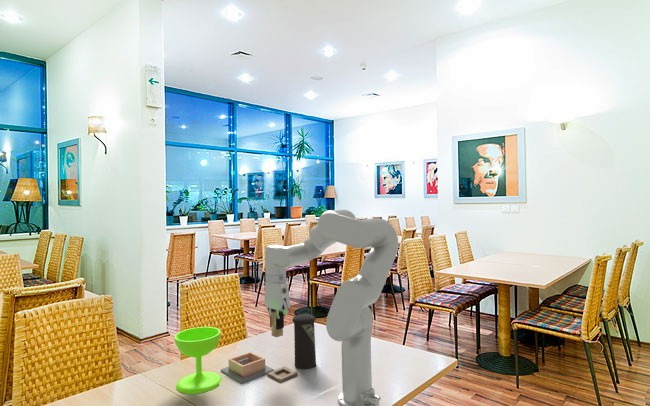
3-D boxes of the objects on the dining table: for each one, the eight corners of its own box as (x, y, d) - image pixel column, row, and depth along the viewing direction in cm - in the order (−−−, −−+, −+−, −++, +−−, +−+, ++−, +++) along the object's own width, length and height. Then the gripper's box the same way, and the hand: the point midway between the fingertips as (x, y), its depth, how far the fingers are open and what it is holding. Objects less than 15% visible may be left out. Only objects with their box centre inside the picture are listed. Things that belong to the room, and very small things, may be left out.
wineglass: (175, 378, 151) (174, 330, 151) (219, 370, 156) (218, 324, 156) (176, 397, 136) (174, 344, 136) (224, 388, 141) (223, 337, 141)
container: (313, 371, 153) (312, 319, 153) (291, 370, 155) (289, 318, 155) (318, 362, 162) (317, 312, 162) (297, 361, 164) (295, 312, 163)
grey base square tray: (273, 372, 153) (273, 358, 153) (241, 384, 144) (241, 370, 144) (251, 361, 164) (251, 348, 164) (220, 372, 155) (220, 358, 155)
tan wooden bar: (282, 335, 150) (282, 311, 150) (276, 337, 148) (275, 313, 148) (278, 333, 152) (277, 309, 152) (271, 335, 150) (270, 311, 150)
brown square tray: (297, 376, 149) (297, 372, 149) (280, 383, 144) (280, 379, 144) (284, 370, 155) (284, 366, 155) (267, 377, 150) (267, 373, 150)
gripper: (297, 279, 146) (298, 330, 146) (271, 274, 158) (272, 320, 158) (281, 283, 141) (282, 335, 141) (255, 276, 153) (256, 325, 153)
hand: (277, 327), depth 150 cm, fingers closed on tan wooden bar, 3 cm apart
